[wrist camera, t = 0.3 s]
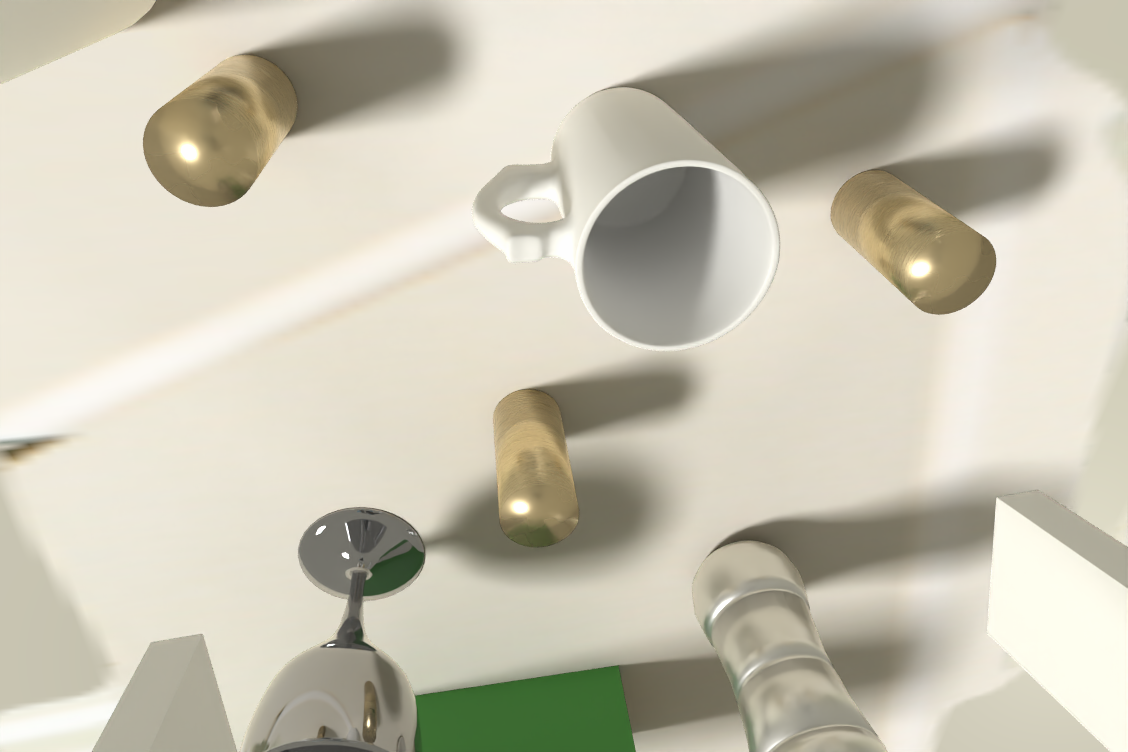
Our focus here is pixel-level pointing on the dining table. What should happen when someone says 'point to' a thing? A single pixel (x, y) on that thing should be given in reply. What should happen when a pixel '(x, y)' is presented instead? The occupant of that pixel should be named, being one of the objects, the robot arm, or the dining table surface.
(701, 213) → the mug
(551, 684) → the hardback book
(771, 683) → the plastic bottle
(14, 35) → the alcohol
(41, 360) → the dining table surface
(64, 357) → the dining table surface
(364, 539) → the wine glass
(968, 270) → the spacer posts
